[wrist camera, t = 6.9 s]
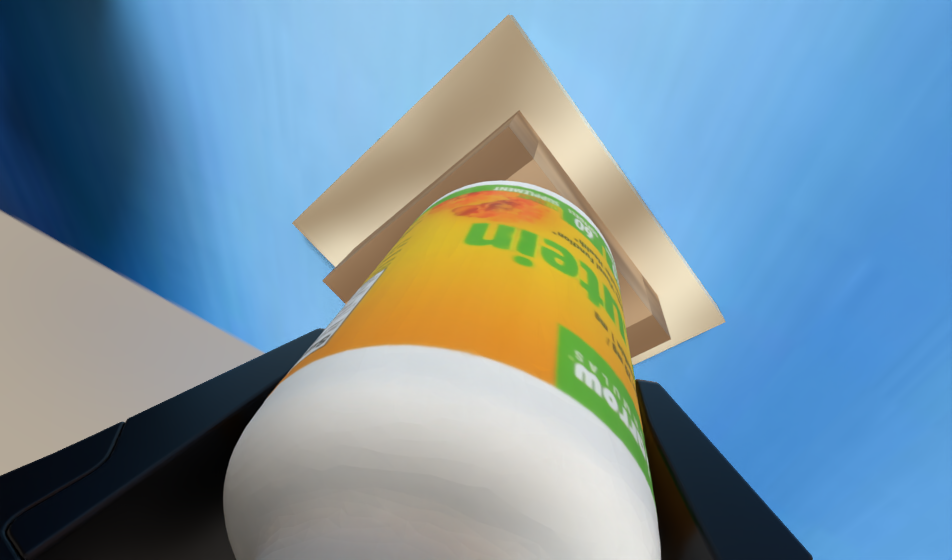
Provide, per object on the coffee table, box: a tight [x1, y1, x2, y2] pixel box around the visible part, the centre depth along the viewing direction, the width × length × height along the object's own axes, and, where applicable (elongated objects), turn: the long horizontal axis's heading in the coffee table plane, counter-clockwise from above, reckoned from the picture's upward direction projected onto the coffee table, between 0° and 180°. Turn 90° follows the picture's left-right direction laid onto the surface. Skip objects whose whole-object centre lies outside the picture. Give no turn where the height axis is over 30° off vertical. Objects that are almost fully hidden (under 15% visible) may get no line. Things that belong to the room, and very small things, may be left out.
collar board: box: [292, 15, 725, 365], centre depth 18 cm, size 14×12×4 cm
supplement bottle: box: [223, 181, 661, 560], centre depth 7 cm, size 5×5×10 cm
